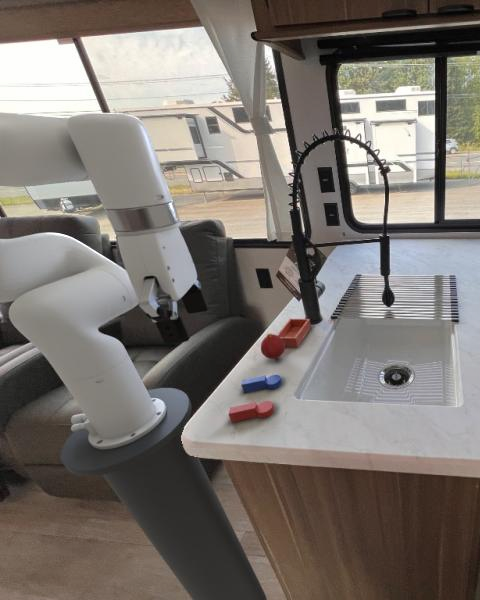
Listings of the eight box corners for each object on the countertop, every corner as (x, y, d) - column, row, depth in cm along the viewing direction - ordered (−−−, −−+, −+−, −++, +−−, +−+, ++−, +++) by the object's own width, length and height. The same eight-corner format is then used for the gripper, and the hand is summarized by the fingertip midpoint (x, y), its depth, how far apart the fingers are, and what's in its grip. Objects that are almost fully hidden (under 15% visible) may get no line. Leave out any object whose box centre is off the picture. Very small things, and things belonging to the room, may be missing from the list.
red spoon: (230, 425, 62) (227, 416, 61) (234, 413, 65) (230, 404, 64) (273, 416, 64) (271, 407, 63) (275, 404, 67) (272, 395, 66)
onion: (264, 354, 84) (257, 329, 80) (287, 350, 85) (281, 325, 82) (263, 367, 79) (256, 341, 75) (287, 362, 80) (281, 336, 77)
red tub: (297, 347, 86) (295, 338, 85) (276, 346, 87) (274, 337, 85) (311, 327, 96) (309, 318, 94) (291, 326, 96) (290, 318, 95)
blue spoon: (243, 395, 70) (240, 387, 69) (245, 385, 73) (243, 377, 72) (281, 387, 72) (279, 379, 71) (282, 378, 75) (280, 370, 74)
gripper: (143, 210, 49) (182, 305, 57) (71, 236, 34) (137, 361, 42) (195, 206, 51) (226, 299, 58) (148, 229, 36) (198, 351, 43)
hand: (189, 325), depth 50 cm, fingers open, 9 cm apart
